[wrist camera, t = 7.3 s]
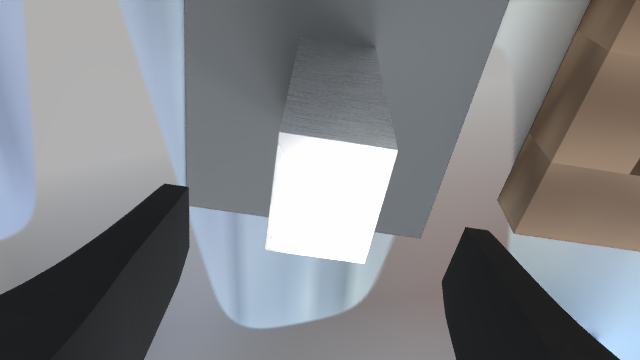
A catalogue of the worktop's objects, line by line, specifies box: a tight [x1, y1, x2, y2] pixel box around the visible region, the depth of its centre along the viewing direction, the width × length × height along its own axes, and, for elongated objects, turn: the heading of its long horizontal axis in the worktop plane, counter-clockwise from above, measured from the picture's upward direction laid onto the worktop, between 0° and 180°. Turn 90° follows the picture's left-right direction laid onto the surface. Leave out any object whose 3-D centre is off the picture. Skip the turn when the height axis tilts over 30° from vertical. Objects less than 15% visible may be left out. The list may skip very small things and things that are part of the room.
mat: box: [184, 0, 509, 238], centre depth 19 cm, size 14×12×1 cm
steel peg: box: [265, 35, 398, 264], centre depth 16 cm, size 3×4×8 cm
